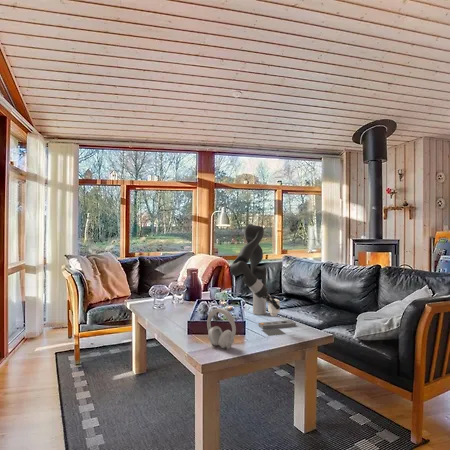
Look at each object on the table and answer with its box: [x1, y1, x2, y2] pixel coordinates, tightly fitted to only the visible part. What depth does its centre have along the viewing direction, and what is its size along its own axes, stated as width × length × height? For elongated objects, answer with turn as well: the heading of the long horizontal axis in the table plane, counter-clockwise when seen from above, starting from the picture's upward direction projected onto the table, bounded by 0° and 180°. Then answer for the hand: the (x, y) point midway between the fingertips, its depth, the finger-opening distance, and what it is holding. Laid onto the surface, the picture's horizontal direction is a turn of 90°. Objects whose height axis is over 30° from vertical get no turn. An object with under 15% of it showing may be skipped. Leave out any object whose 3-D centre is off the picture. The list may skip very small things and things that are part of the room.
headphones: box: [206, 307, 237, 350], centre depth 189 cm, size 19×8×20 cm, turn 47°
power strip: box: [257, 319, 297, 330], centre depth 225 cm, size 7×22×3 cm, turn 107°
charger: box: [267, 298, 281, 317], centre depth 212 cm, size 5×5×9 cm
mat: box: [261, 328, 287, 337], centre depth 213 cm, size 11×11×1 cm
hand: (276, 307), depth 213 cm, fingers closed on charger, 5 cm apart
